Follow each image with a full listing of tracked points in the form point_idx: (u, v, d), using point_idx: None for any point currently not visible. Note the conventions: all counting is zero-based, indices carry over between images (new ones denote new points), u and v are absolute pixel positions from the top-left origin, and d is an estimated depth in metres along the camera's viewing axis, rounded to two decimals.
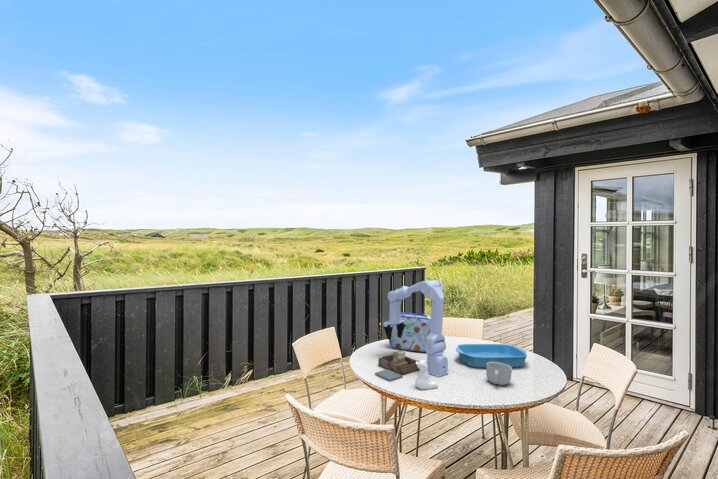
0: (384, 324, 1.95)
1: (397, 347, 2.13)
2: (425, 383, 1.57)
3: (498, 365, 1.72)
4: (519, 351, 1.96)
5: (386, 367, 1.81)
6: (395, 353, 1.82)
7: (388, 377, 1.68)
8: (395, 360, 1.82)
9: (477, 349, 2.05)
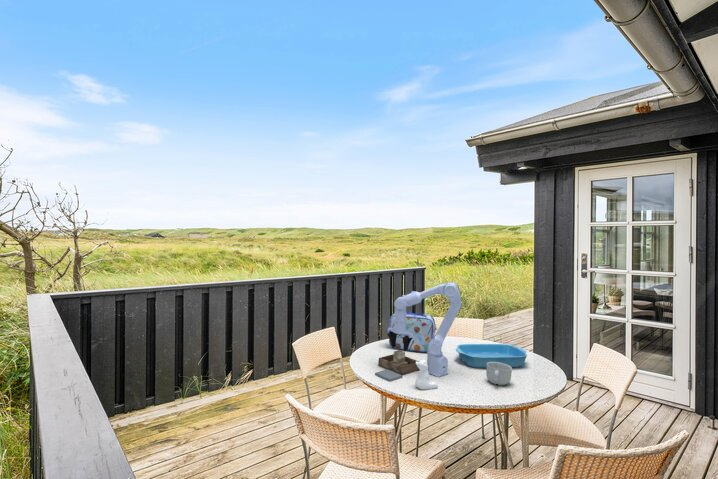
0: None
1: (397, 347, 2.13)
2: (425, 383, 1.57)
3: (498, 365, 1.72)
4: (519, 351, 1.96)
5: (386, 367, 1.81)
6: (395, 353, 1.82)
7: (388, 377, 1.68)
8: (395, 360, 1.82)
9: (477, 349, 2.05)
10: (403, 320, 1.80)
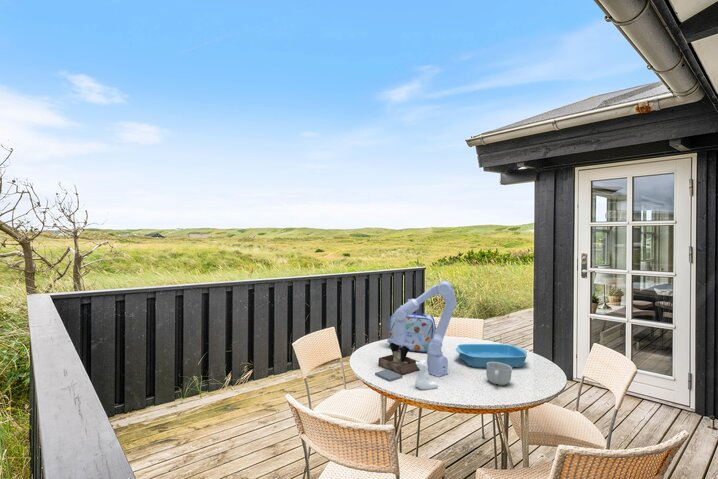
0: None
1: None
2: (425, 383, 1.57)
3: (498, 365, 1.72)
4: (519, 351, 1.96)
5: (386, 367, 1.81)
6: (395, 353, 1.82)
7: (388, 377, 1.68)
8: (395, 360, 1.82)
9: (477, 349, 2.05)
10: (403, 331, 1.80)
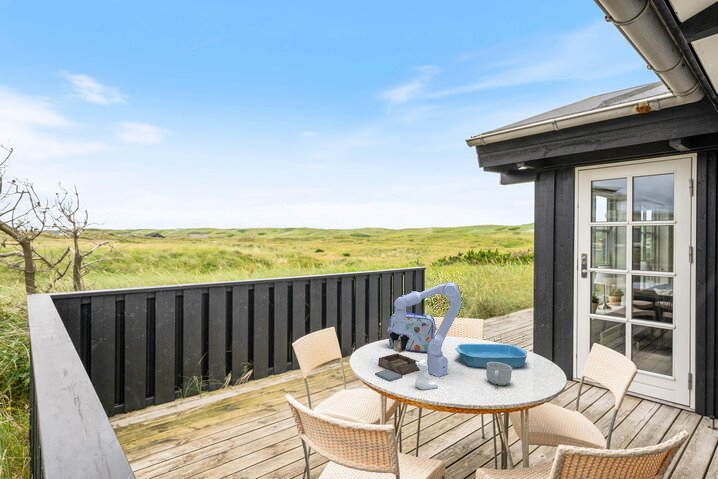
0: None
1: None
2: (425, 383, 1.57)
3: (498, 365, 1.72)
4: (520, 351, 1.95)
5: (386, 367, 1.81)
6: (395, 342, 1.82)
7: (388, 377, 1.68)
8: (395, 349, 1.82)
9: (478, 349, 2.05)
10: (403, 320, 1.80)
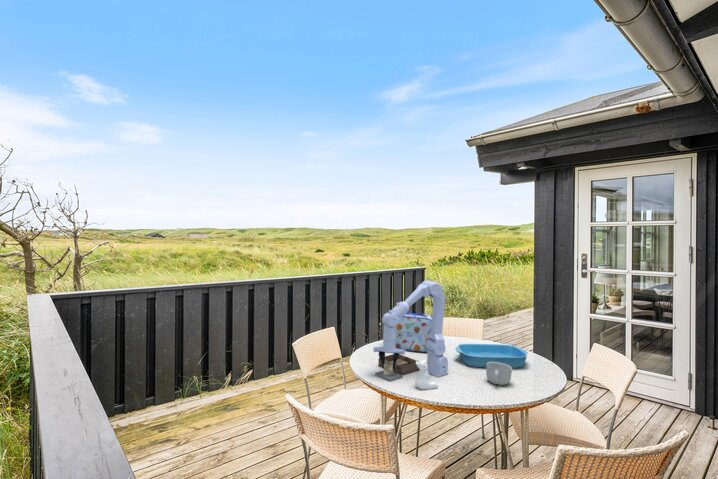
0: None
1: (397, 347, 2.13)
2: (425, 383, 1.57)
3: (498, 365, 1.72)
4: (520, 352, 1.95)
5: None
6: (386, 365, 1.70)
7: (388, 377, 1.68)
8: (386, 373, 1.70)
9: (479, 349, 2.05)
10: (395, 337, 1.70)
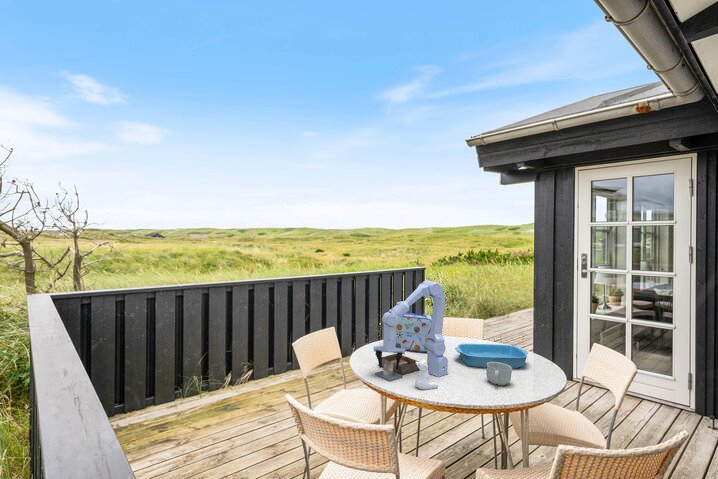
0: None
1: (397, 347, 2.13)
2: (425, 383, 1.57)
3: (498, 365, 1.72)
4: (521, 352, 1.94)
5: None
6: (386, 366, 1.70)
7: (388, 377, 1.68)
8: (386, 373, 1.70)
9: (479, 349, 2.05)
10: (395, 337, 1.70)
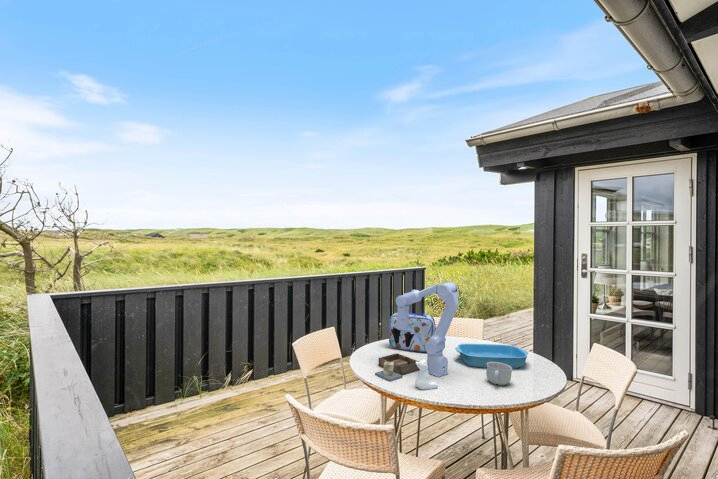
0: None
1: (397, 347, 2.13)
2: (425, 383, 1.57)
3: (498, 365, 1.72)
4: (521, 352, 1.94)
5: None
6: (386, 366, 1.70)
7: (388, 377, 1.68)
8: (386, 373, 1.70)
9: (479, 349, 2.05)
10: (403, 317, 1.87)
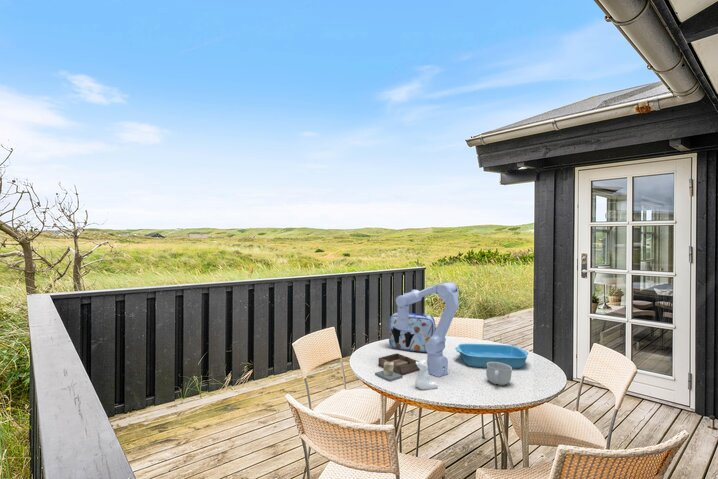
0: None
1: (397, 347, 2.13)
2: (425, 383, 1.57)
3: (498, 365, 1.72)
4: (521, 352, 1.94)
5: None
6: (386, 366, 1.70)
7: (388, 377, 1.68)
8: (386, 373, 1.70)
9: (479, 349, 2.05)
10: (403, 317, 1.87)
